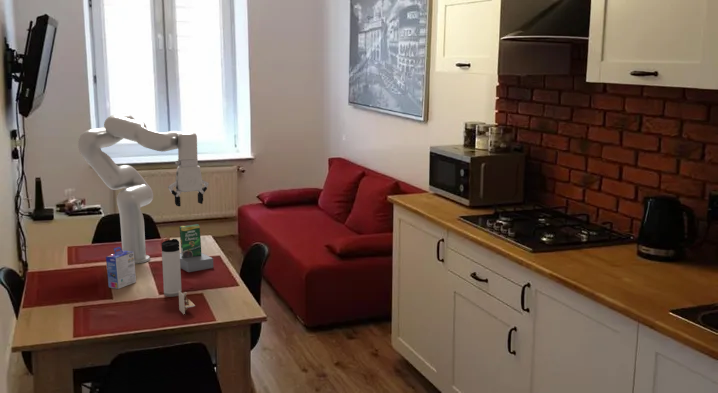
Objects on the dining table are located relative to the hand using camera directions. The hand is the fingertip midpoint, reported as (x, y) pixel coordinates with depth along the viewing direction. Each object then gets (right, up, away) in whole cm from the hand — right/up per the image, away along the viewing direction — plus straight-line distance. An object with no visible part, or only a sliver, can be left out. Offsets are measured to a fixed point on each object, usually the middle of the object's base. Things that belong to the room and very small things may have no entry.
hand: (189, 204), depth 298 cm
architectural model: (+10, -37, -50) cm, 63 cm away
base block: (0, -25, +5) cm, 26 cm away
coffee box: (0, -22, +4) cm, 22 cm away
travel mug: (+1, -33, -31) cm, 45 cm away
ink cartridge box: (-21, -31, -21) cm, 42 cm away
